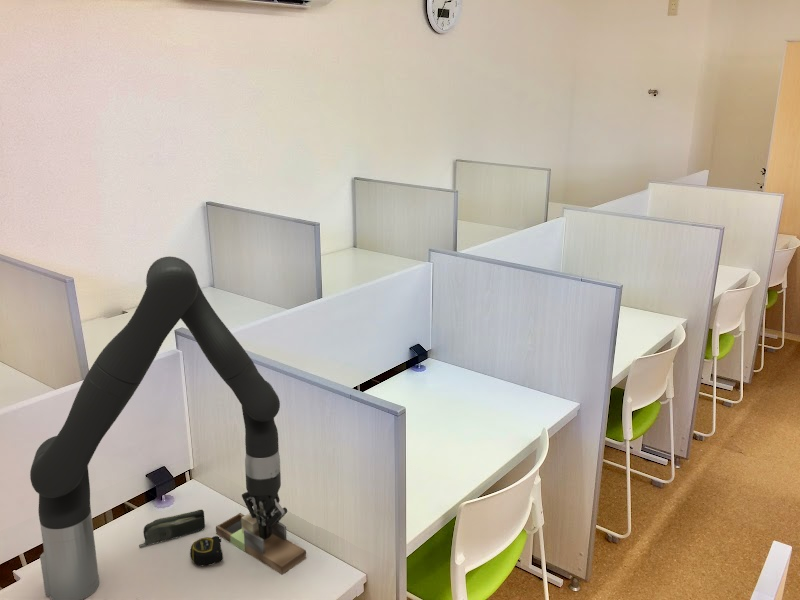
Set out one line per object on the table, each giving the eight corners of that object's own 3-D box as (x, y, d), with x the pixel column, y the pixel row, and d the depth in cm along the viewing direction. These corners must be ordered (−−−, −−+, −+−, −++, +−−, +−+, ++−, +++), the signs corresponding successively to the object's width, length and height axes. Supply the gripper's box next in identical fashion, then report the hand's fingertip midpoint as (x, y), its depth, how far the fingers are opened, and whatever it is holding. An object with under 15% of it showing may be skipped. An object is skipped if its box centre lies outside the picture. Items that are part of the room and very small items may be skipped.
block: (266, 531, 157) (266, 516, 156) (253, 539, 154) (252, 524, 153) (255, 524, 160) (255, 510, 158) (242, 532, 157) (241, 517, 155)
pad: (269, 536, 159) (268, 529, 158) (244, 551, 153) (244, 544, 153) (254, 528, 162) (254, 521, 161) (230, 542, 156) (230, 535, 156)
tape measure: (223, 566, 148) (222, 551, 147) (191, 571, 146) (190, 557, 145) (221, 547, 155) (220, 533, 154) (190, 552, 153) (189, 538, 152)
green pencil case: (202, 506, 162) (135, 523, 154) (206, 512, 159) (138, 530, 151) (202, 524, 163) (137, 543, 155) (206, 531, 161) (140, 550, 153)
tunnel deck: (306, 558, 152) (305, 536, 150) (282, 574, 146) (281, 552, 145) (240, 520, 165) (239, 500, 163) (216, 533, 159) (215, 513, 158)
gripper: (229, 465, 150) (233, 533, 154) (270, 486, 142) (272, 557, 147) (256, 452, 155) (258, 518, 160) (296, 472, 148) (298, 540, 153)
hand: (265, 537), depth 153 cm, fingers closed
